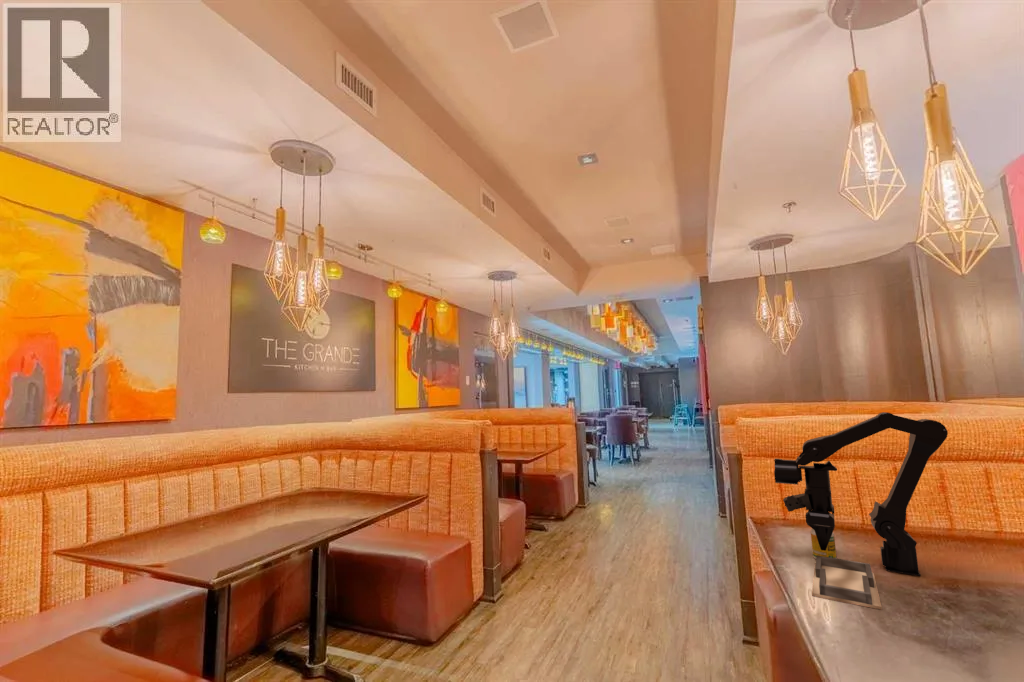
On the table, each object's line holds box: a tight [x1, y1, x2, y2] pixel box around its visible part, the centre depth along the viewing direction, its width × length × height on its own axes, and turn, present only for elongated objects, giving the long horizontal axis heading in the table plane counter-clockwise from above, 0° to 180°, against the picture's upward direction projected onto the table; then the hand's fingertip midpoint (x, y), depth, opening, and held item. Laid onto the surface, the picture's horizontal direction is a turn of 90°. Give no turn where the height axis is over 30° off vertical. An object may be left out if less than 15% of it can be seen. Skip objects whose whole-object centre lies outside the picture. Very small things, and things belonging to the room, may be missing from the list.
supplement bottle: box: [810, 528, 838, 560], centre depth 123 cm, size 5×5×10 cm
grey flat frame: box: [811, 555, 883, 611], centre depth 105 cm, size 12×22×3 cm, turn 145°
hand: (823, 545), depth 123 cm, fingers open, 9 cm apart
